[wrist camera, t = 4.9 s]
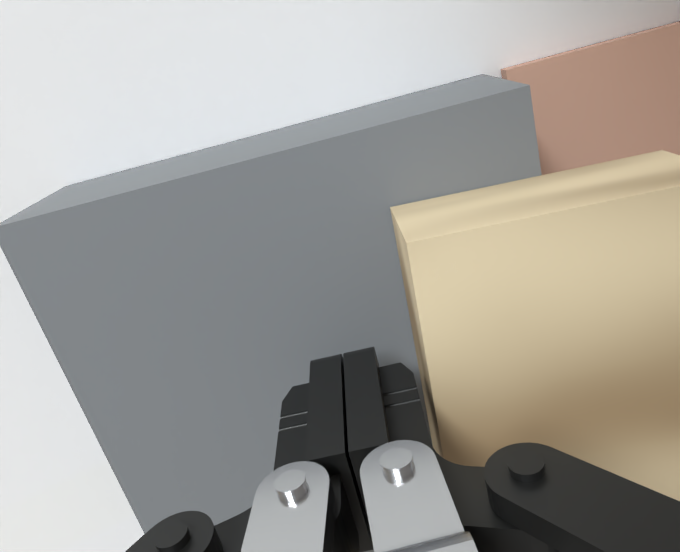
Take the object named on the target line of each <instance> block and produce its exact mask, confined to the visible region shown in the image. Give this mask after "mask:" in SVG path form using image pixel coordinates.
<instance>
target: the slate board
mask: <svg viewBox="0 0 680 552" xmlns="http://www.w3.org/2000/svg"><path fill="white" fill-rule="evenodd" d="M541 175H542V174H541V167H540V159H539V151H538V144H537V136H536V129H535V121H534V113H533V106H532V98H531V91H530V85H528V84H523V83H519V82H515V81H510V80H506V79H501V78H497V77H493V76H488V75H484V74H481V75H478V76H474V77H470V78H467V79H463V80H459V81H455V82H452V83H448V84H444V85H441V86H437V87H433V88H429V89H426V90H422V91H418V92H414V93H411V94H407V95H403V96H400V97H396V98H392V99H388V100H385V101H381V102H377V103H374V104H370V105H366V106H362V107H359V108H355V109H351V110H348V111H344V112H340V113H336V114H333V115H329V116H325V117H322V118H318V119H314V120H310V121H307V122H303V123H299V124H296V125H292V126H288V127H284V128H281V129H277V130H273V131H269V132H266V133H262V134H258V135H255V136H251V137H247V138H243V139H240V140H236V141H232V142H229V143H225V144H221V145H217V146H214V147H210V148H206V149H203V150H199V151H195V152H191V153H188V154H184V155H180V156H177V157H173V158H169V159H165V160H162V161H158V162H154V163H150V164H147V165H143V166H139V167H136V168H132V169H128V170H124V171H121V172H117V173H113V174H110V175H106V176H102V177H98V178H95V179H91V180H87V181H84V182H80V183H76V184H72V185H69V186H65V187H63V188H62V189H60V190H58V191H56V192H55V193H53V194H51V195H49V196H48V197H46V198H44V199H42V200H40V201H39V202H37V203H35V204H33V205H32V206H30V207H28V208H26V209H24V210H23V211H21V212H19V213H17V214H16V215H14V216H12V217H10V218H8V219H7V220H5V221H3V222H1V223H0V246H1V248H2V250H3V252H4V254H5V256H6V258H7V260H8V262H9V264H10V266H11V268H12V270H13V272H14V274H15V276H16V278H17V280H18V282H19V284H20V286H21V288H22V290H23V292H24V294H25V296H26V298H27V300H28V302H29V304H30V306H31V308H32V310H33V312H34V314H35V316H36V318H37V320H38V322H39V324H40V326H41V328H42V330H43V332H44V334H45V336H46V338H47V340H48V342H49V344H50V346H51V348H52V350H53V352H54V354H55V356H56V358H57V360H58V362H59V364H60V366H61V368H62V370H63V372H64V374H65V376H66V378H67V380H68V382H69V384H70V386H71V388H72V390H73V392H74V394H75V396H76V398H77V400H78V402H79V404H80V406H81V408H82V410H83V412H84V414H85V416H86V418H87V420H88V422H89V424H90V426H91V428H92V430H93V432H94V434H95V436H96V438H97V440H98V442H99V444H100V446H101V448H102V450H103V452H104V454H105V456H106V458H107V460H108V462H109V464H110V466H111V468H112V470H113V472H114V474H115V476H116V478H117V480H118V482H119V484H120V486H121V488H122V490H123V492H124V494H125V496H126V498H127V499H128V501H129V503H130V505H131V507H132V509H133V511H134V513H135V515H136V517H137V519H138V521H139V523H140V525H141V527H142V529H143V531H144V533H147V532H148V531H149V530H150V529H151V528H152V527H153V526H155V525H156V524H157V523H159V522H160V521H162V520H163V519H165V518H167V517H169V516H171V515H174V514H177V513H180V512H184V511H200V512H203V513H205V514H207V515H208V516H209V517H210V518H211V520H212V522H213V524H214V526H215V525H217V524H219V523H222V522H224V521H226V520H228V519H230V518H232V517H234V516H237V515H239V514H241V513H242V512H244V511H246V510H248V509H249V508H251V507H252V505H253V501H254V497H255V493H256V490H257V488H258V486H259V485H260V483H261V482H262V481H263V479H264V478H265V477H266V476H267V475H269V474H270V473H271V472H273V471H274V463H275V455H276V447H277V439H278V432H279V422H280V419H281V417H280V414H281V406H282V401H283V399H284V398H285V396H286V395H287V394H288V392H289V391H290V389H291V388H292V386H297V385H301V384H306V383H309V376H310V361H311V360H316V359H320V358H325V357H329V356H334V355H338V354H342V356H343V353H347V352H351V351H356V350H360V349H364V348H369V347H373V346H374V348H375V351H376V355H377V359H378V363H379V367H382V366H387V365H391V364H396V363H400V362H401V363H402V364H403V365H405V366H406V367H407V368H408V369H410V370H411V371H412V372H413V374H414V378H415V382H416V385H417V389H418V393H419V397H420V401H421V405H422V409H423V412H424V416H425V420H426V424H427V428H428V432H429V435H430V439H431V434H430V428H429V422H428V417H427V411H426V406H425V400H424V394H423V389H422V383H421V378H420V372H419V367H418V361H417V355H416V350H415V344H414V339H413V333H412V327H411V322H410V316H409V311H408V305H407V299H406V294H405V288H404V283H403V277H402V272H401V266H400V260H399V255H398V249H397V244H396V238H395V232H394V227H393V221H392V216H391V210H390V207H393V206H398V205H403V204H407V203H412V202H417V201H422V200H426V199H431V198H436V197H441V196H445V195H450V194H455V193H460V192H464V191H469V190H474V189H479V188H483V187H488V186H493V185H498V184H503V183H507V182H512V181H517V180H522V179H526V178H531V177H536V176H541ZM431 443H432V439H431ZM432 446H433V445H432ZM364 552H374V547H373V550H369V551H364Z"/></svg>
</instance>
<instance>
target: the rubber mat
mask: <svg viewBox="0 0 680 552" xmlns="http://www.w3.org/2000/svg"><path fill="white" fill-rule="evenodd" d="M501 74H502V79H506V80H510V81H515V82H519V83H523V84H528V85H530V91H531V98H532V106H533V113H534V121H535V129H536V136H537V144H538V151H539V159H540V167H541V174H542V175H545V174H550V173H555V172H560V171H564V170H569V169H574V168H579V167H583V166H588V165H593V164H598V163H603V162H607V161H612V160H617V159H622V158H626V157H631V156H636V155H641V154H645V153H650V152H655V151H660V150H664V151H667V152H670V153H674V154H677V155H680V21H679V22H675V23H671V24H667V25H664V26H660V27H656V28H652V29H649V30H645V31H641V32H638V33H634V34H630V35H626V36H623V37H619V38H615V39H612V40H608V41H604V42H600V43H597V44H593V45H589V46H586V47H582V48H578V49H574V50H571V51H567V52H563V53H560V54H556V55H552V56H548V57H545V58H541V59H537V60H533V61H530V62H526V63H522V64H519V65H515V66H511V67H507V68H504V69H501Z"/></svg>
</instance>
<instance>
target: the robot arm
mask: <svg viewBox="0 0 680 552" xmlns="http://www.w3.org/2000/svg"><path fill="white" fill-rule="evenodd" d="M280 417H281V419H280V422H279V432H278V439H277V447H276V455H275V463H274V471H273V472H271V473H270V474H269V475H267V476H266V477H265V478H264V479H263V481H262V482H261V483H260V485H259V486H258V488H257V490H256V493H255V497H254V501H253V505H252V507H251V508H249V509H248V510H246V511H244V512H242V513H241V514H239V515H237V516H234V517H232V518H230V519H228V520H226V521H224V522H222V523H219V524H217V525H215V526H214V524H213V522H212V520H211V518H210V517H209V516H208V515H207V514H205V513H203V512H200V511H184V512H180V513H177V514H174V515H171V516H169V517H167V518H165V519H163V520H162V521H160V522H159V523H157V524H156V525H155V526H153V527H152V528H151V529H150V530H149V531H148V532H147V533H145V534H144V535H143V536H142V537H141V538H140V539H139V540H138V541H137V542H136V543H134V544H133V545H132V546H131V547H130V548H129V549H128V550H127V551H126V552H364V551H369V550H373V547H374V552H680V501H678V500H675V499H673V498H671V497H668V496H666V495H663V494H661V493H659V492H656V491H654V490H652V489H649V488H647V487H645V486H642V485H640V484H637V483H635V482H633V481H630V480H628V479H626V478H623V477H621V476H618V475H616V474H614V473H611V472H609V471H607V470H604V469H602V468H600V467H597V466H595V465H592V464H590V463H588V462H585V461H583V460H581V459H578V458H576V457H573V456H571V455H569V454H566V453H564V452H562V451H559V450H557V449H555V448H552V447H550V446H547V445H543V444H539V443H530V442H529V443H516V444H512V445H508V446H505V447H503V448H501V449H499V450H497V451H496V452H495V453H493V454H492V455H491V456H490V457H489V459H488V460H487V462H486V464H485V467H478V466H464V465H459V464H455V463H452V462H450V461H448V460H446V459H444V458H443V457H441V456H440V455H439V454H438V453H437V452H436V451H435V450H434V448H433V446H432V443H431V439H430V435H429V432H428V428H427V424H426V420H425V416H424V412H423V409H422V405H421V401H420V397H419V393H418V389H417V385H416V382H415V378H414V374H413V372H412V371H411V370H410V369H408V368H407V367H406V366H405V365H403V364H402V363H401V362H400V363H396V364H391V365H387V366H382V367H379V363H378V359H377V355H376V351H375V348H374V346H373V347H369V348H364V349H360V350H356V351H351V352H347V353H343V356H342V354H338V355H334V356H329V357H325V358H320V359H316V360H311V361H310V376H309V383H306V384H301V385H297V386H292V388H291V389H290V391H289V392H288V394H287V395H286V396H285V398H284V399H283V401H282V406H281V414H280Z"/></svg>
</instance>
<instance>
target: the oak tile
mask: <svg viewBox="0 0 680 552" xmlns="http://www.w3.org/2000/svg"><path fill="white" fill-rule="evenodd" d="M390 210H391V216H392V221H393V227H394V232H395V238H396V244H397V249H398V255H399V260H400V266H401V272H402V277H403V283H404V288H405V294H406V299H407V305H408V311H409V316H410V322H411V327H412V333H413V339H414V344H415V350H416V355H417V361H418V367H419V372H420V378H421V383H422V389H423V394H424V400H425V406H426V411H427V417H428V422H429V428H430V434H431V439H432V445H433V448H434V450H435V451H436V452H437V453H438V454H439V455H440V456H441V457H443V458H444V459H446V460H448V461H450V462H452V463H455V464H459V465H464V466H478V467H485V464H486V462H487V460H488V459H489V457H490V456H491V455H492V454H493V453H495V452H496V451H497V450H499V449H501V448H503V447H505V446H508V445H512V444H516V443H529V442H530V443H539V444H543V445H547V446H550V447H552V448H555V449H557V450H559V451H562V452H564V453H566V454H569V455H571V456H573V457H576V458H578V459H581V460H583V461H585V462H588V463H590V464H592V465H595V466H597V467H600V468H602V469H604V470H607V471H609V472H611V473H614V474H616V475H618V476H621V477H623V478H626V479H628V480H630V481H633V482H635V483H637V484H640V485H642V486H645V487H647V488H649V489H652V490H654V491H656V492H659V493H661V494H663V495H666V496H668V497H671V498H673V499H675V500H678V501H680V155H677V154H674V153H670V152H667V151H664V150H660V151H655V152H650V153H645V154H641V155H636V156H631V157H626V158H622V159H617V160H612V161H607V162H603V163H598V164H593V165H588V166H583V167H579V168H574V169H569V170H564V171H560V172H555V173H550V174H545V175H541V176H536V177H531V178H526V179H522V180H517V181H512V182H507V183H503V184H498V185H493V186H488V187H483V188H479V189H474V190H469V191H464V192H460V193H455V194H450V195H445V196H441V197H436V198H431V199H426V200H422V201H417V202H412V203H407V204H403V205H398V206H393V207H390Z"/></svg>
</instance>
